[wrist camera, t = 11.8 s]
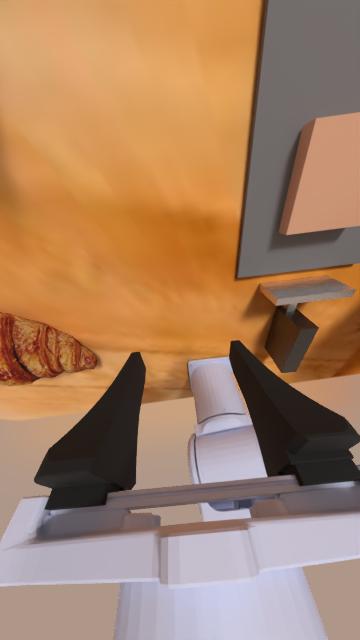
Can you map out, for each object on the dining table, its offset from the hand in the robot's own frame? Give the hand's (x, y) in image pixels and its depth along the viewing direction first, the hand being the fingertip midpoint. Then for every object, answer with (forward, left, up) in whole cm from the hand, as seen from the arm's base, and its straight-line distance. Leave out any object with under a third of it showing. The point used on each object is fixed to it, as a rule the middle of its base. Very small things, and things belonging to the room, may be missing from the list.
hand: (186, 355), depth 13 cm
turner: (-5, -14, -9) cm, 18 cm away
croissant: (-3, +23, -10) cm, 25 cm away
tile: (+6, -14, -8) cm, 17 cm away
